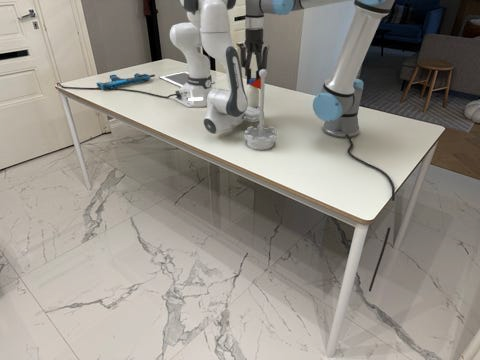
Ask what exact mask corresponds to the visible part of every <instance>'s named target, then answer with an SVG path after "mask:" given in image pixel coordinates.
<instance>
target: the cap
mask: <svg viewBox="0 0 480 360" xmlns="http://www.w3.org/2000/svg"><path fill="white" fill-rule="evenodd" d="M255 81H256V77H251V78H250V79H249V84H248V86H250V84H252V83H253V82H255Z"/></svg>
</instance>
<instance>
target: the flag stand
mask: <svg viewBox="0 0 480 360" xmlns="http://www.w3.org/2000/svg"><path fill="white" fill-rule="evenodd" d="M259 75H260V77H261V78H259V79H258V80H256V81H255V82H253V83H252V84H250V85H251V86H253V87H256V88H258V90H259V107H260V118H259V121H258V122H259V123H258V124H257V127H254V126H253V125H250V126H248V127H247V129H244V139H245V140H246V145H247V146H248V147H249V148H251V149H253V150H261V151H262V150H263V151H264V150H269V149H272V147H273V146H274V145H275V141H276V140H277V138H278V130H276V129H275V127H273V126H270V125H269V126H267V127H264V119H263V114H264V115H265V110H264V109H265V85H266V84H265V83H266V77H267V75H268V71H267V69H262V70H260V71H259ZM250 85H249V86H250Z"/></svg>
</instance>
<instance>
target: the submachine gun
mask: <svg viewBox="0 0 480 360" xmlns="http://www.w3.org/2000/svg"><path fill="white" fill-rule="evenodd" d="M154 77H156V74H147V73H142V74H141V73H139V72H137V73H135V74H133V77H128V78H121V77H119V76H118V75H117V74H110V75H109V79H111V81H107V82H96V83H95V84H96V87H97V88H101V89H100V90H102V91H103V90H104V91H105V90H106V89H108V88H114V89H115V88H116V89H117V88H120V87H122V86H127V85H133V84H138V83H142V82H148V81H149V80H150V79H151V78H154Z"/></svg>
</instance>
